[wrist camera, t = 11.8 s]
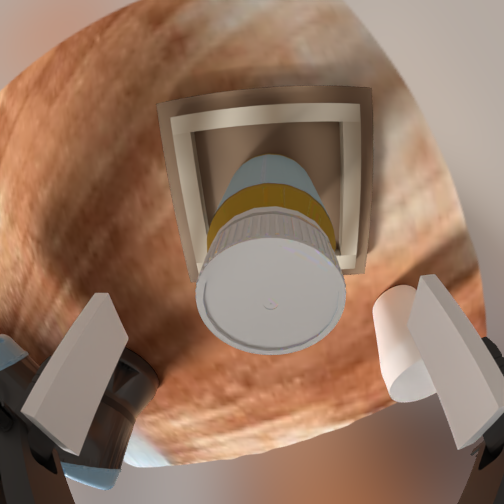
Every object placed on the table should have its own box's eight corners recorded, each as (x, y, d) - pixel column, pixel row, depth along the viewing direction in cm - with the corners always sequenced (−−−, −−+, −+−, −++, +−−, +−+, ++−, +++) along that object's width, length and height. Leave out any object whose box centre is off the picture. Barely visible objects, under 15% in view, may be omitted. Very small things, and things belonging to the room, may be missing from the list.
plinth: (195, 269, 32) (188, 289, 29) (166, 103, 23) (151, 104, 20) (358, 261, 30) (367, 280, 27) (362, 88, 21) (376, 87, 18)
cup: (372, 275, 31) (407, 353, 20) (435, 275, 30) (479, 343, 20) (356, 331, 35) (375, 407, 25) (413, 329, 35) (441, 396, 24)
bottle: (318, 219, 25) (359, 346, 12) (243, 235, 27) (218, 368, 14) (301, 143, 22) (347, 206, 9) (220, 163, 23) (156, 249, 10)
